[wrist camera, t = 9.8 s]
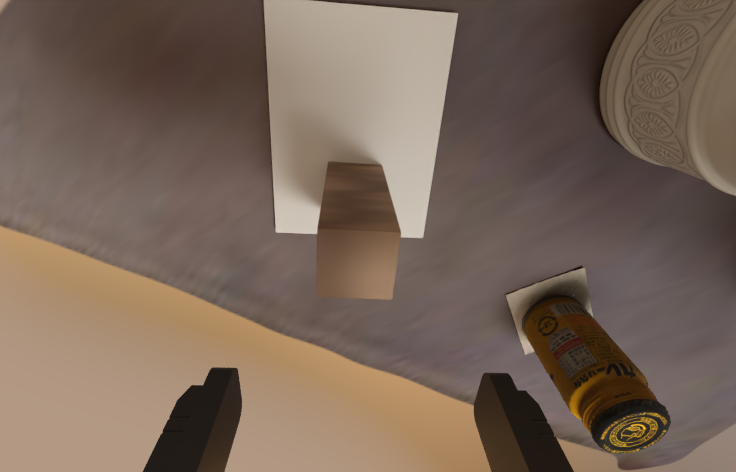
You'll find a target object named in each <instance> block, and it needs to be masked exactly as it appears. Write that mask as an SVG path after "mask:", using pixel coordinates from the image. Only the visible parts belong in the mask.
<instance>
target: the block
mask: <svg viewBox="0 0 736 472" xmlns="http://www.w3.org/2000/svg"><path fill="white" fill-rule="evenodd" d="M400 238H401V230H400V227H399V223H398V220H397V216H396V213H395V209H394V206H393V202H392V198H391V195H390V191H389V188H388V184H387V181H386V177H385V174H384V170H383V167H382V165H374V164H359V163H344V162H329V161H328V165H327V171H326V178H325V184H324V190H323V197H322V203H321V209H320V215H319V222H318V228H317V272H316V297H335V298H362V299H390V300H392V295H393V288H394V281H395V273H396V266H397V259H398V252H399V245H400Z"/></svg>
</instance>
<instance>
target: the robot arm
mask: <svg viewBox="0 0 736 472" xmlns="http://www.w3.org/2000/svg"><path fill="white" fill-rule="evenodd" d="M241 409H242V397H241V390H240V382H239V375H238V369H237V368H211V370H210V372H209V373H208V376H207V378H206V380H205V383H204V385H203V386H202V385H201V386H199V385H196V386H195V385H192V386H191V387H190V388H189V389H188V390H187V391H186V392H185V393H184V394H183V395H182V396H181V397H180V398H179V399H178V400H177V402H176V404H175V407H174V409H173V411H172V413H171V415H170V419H169V420H168V421H167V423H166V425H165V427H164V429H163V433H162V434H161V436H160V438H159V439H158V441H157V444H156V446H155V448H154V450H153V452H152V454H151V456H150V458H149V460H148V462H147V464H146V466H145V468H144V471H143V472H224V471H225V468H226V464H227V461H228V458H229V454H230V451H231V448H232V444H233V441H234V437H235V434H236V431H237V427H238V424H239V420H240V416H241ZM474 417H475V422H476V426H477V428H478V432H479V434H480V438H481V441H482V444H483V447H484V450H485V452H486V456H487V459H488V462H489V465H490V468H491V471H492V472H574V471H573V469H572V467H571V465H570V464H569V462H568V460H567V458H566V456H565V454H564V452H563V450H562V448H561V447H560V444H559V443H558V441H557V439H556V437H554V433H553V431H552V429H551V427H550V425H549V424H548V423H547V419H546V417H545V416H544V414H543V412H542V410H541V408H540V406H539V404H538V403H537V402H536V401H535V400H534V399H533V398H532V397H531V396H530V395H529V394H528V393H527V392H526V391H518V390H517V388H516V386H515V384H514V382H513V380H512V378H511V376H510V375H509V374H507V373H484V374H483V376H482V379H481V382H480V386H479V389H478V393H477V396H476V399H475V403H474Z"/></svg>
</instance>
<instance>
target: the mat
mask: <svg viewBox="0 0 736 472" xmlns="http://www.w3.org/2000/svg"><path fill="white" fill-rule="evenodd" d="M264 16H265V35H266V54H267V73H268V93H269V112H270V131H271V150H272V169H273V188H274V207H275V226H276V232H279V233H305V234H317V228H318V222H319V215H320V209H321V203H322V197H323V190H324V184H325V178H326V171H327V165H328V161H329V162H344V163H359V164H374V165H382V167H383V170H384V174H385V177H386V181H387V184H388V188H389V191H390V195H391V198H392V202H393V206H394V209H395V213H396V216H397V220H398V223H399V227H400V230H401V237H409V238H423V234H424V227H425V221H426V215H427V208H428V202H429V196H430V189H431V183H432V177H433V170H434V164H435V158H436V151H437V145H438V138H439V132H440V126H441V119H442V113H443V107H444V100H445V94H446V88H447V81H448V75H449V69H450V62H451V56H452V50H453V43H454V37H455V31H456V24H457V18H458V13H449V12H437V11H426V10H414V9H403V8H391V7H380V6H368V5H356V4H345V3H333V2H322V1H310V0H264Z"/></svg>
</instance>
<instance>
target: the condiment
mask: <svg viewBox="0 0 736 472" xmlns="http://www.w3.org/2000/svg"><path fill="white" fill-rule="evenodd" d="M573 295H574V296H573ZM506 298H507V301H508V304H509V307H510V310H511V313H512V316H513V319H514V322H515V326H516V329H517V332H518V335H519V338H520V341H521V344H522V347H523V350H524V353H525V355H526V354H528V353H531V352H534V351H535V352H536V354H537V356H538V358H539V359H540V361H541V363H542V364H543V366H544V368H545V369H546V372H547V373H548V374H549V376H550V378H551V379H552V381H553V382H554V384H555V386H556V387H557V389H558V391H559V392H560V394H561V396H562V397H563V400H564V401H565V403H566V405H567V406H568V408H569V410H570V411H571V412H572V413H573V414H574V415H575V416H576V417H577V418H578V419H581V420H582V422H583V424H584V426H585V428H586V429H587V430H588V431H589V432H590V433H591V435H592V438H593V440H594V441H595V442H596V443H597V444H598V446H599V447H601V448H603V449H605V450H606V451H608V452H612V453H631V452H635V451H639V450H641V449H645V448H647V447H648V446H651V445H653V444H655V443H656V442H657V441H659V440H660V439H661V438H662V437H663V436H664V435H665V434H666V432H667V431H668V428H669V426H670V423H671V421H670V416H669V415H668V411H667V410H666V408H665V406H663V405H661V404H660V403H659V402H658V401H657V399H656V397H655V395H654V394H653V392H651V390H650V389H649V388H648V383H647V380H646V378H645V376H644V375H643V374H642V372H641V371H640V370H639V369H638V368H637V367H636V366H635V365H634V364H633V362H632V361H631V360H630V359H629V358H628V357H627V356H626V355H625V353H624V352H623V351H622V350H621V349H620V348H619V347H618V345H617V344H616V343H615V342H614V341H613V340H612V339H611V338H610V336H609V335H608V334H607V333H606V332H605V331H604V329H603V328H602V327H601V326H600V325H599V324H598V323H597V322H596V320H595V319H594V318H593V314H592V309H591V302H590V294H589V290H588V285H587V278H586V272H585V268H581V269H578V270H576V271H571V272H568V273H565V274H562V275H560V276H556V277H553V278H550V279H547V280H545V281H542V282H538V283H535V284H534V285H532V286H529V287H527V288H523V289H520V290H518V291H516V292H513V293H510V294H508V295H506ZM532 300H534V301H533V302H532V303H531V301H532ZM530 304H532V305H531V306H529V305H530Z"/></svg>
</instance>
